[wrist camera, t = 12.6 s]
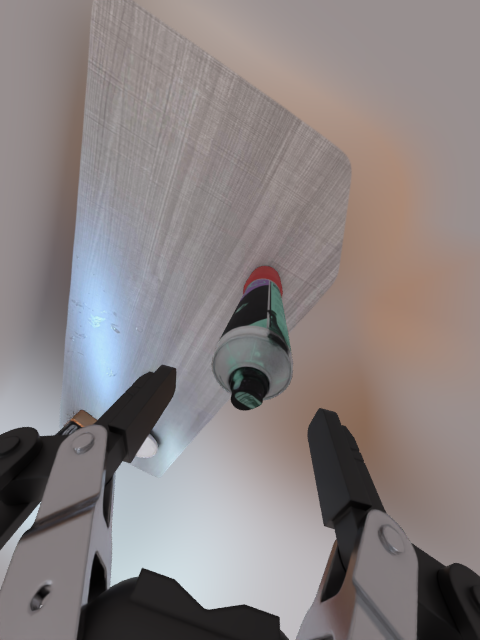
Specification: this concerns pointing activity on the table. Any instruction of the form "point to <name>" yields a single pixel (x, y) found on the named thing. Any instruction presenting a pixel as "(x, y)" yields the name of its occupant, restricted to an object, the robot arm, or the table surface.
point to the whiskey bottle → (77, 423)
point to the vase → (148, 448)
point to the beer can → (264, 277)
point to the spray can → (255, 348)
